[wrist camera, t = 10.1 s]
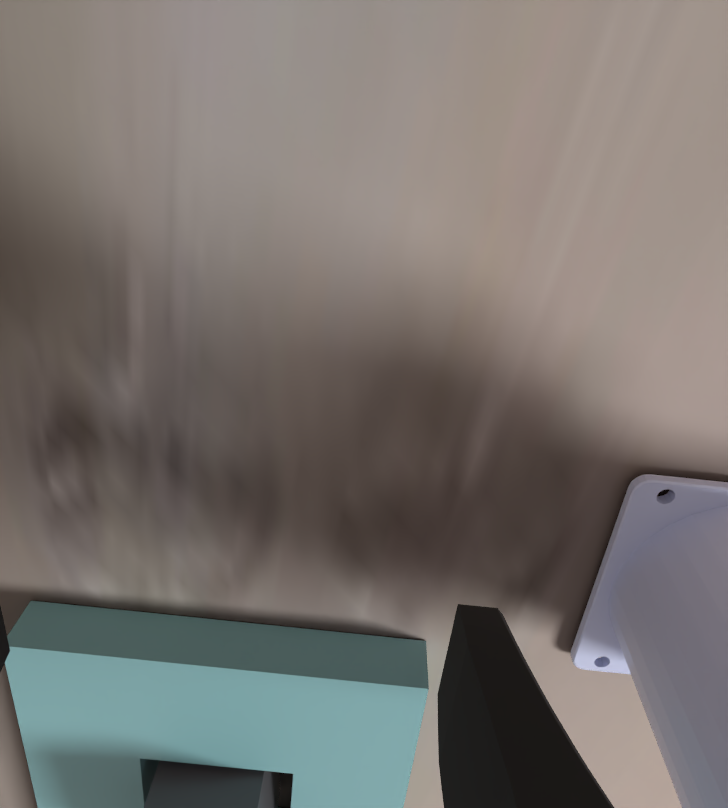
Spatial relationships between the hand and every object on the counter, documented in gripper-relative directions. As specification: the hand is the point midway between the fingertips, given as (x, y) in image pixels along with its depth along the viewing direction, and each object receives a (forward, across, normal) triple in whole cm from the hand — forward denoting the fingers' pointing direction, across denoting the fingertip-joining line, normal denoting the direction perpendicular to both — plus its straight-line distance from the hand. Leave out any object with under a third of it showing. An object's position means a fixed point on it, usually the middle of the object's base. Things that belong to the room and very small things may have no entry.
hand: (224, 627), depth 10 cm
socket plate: (+9, +2, +18) cm, 20 cm away
